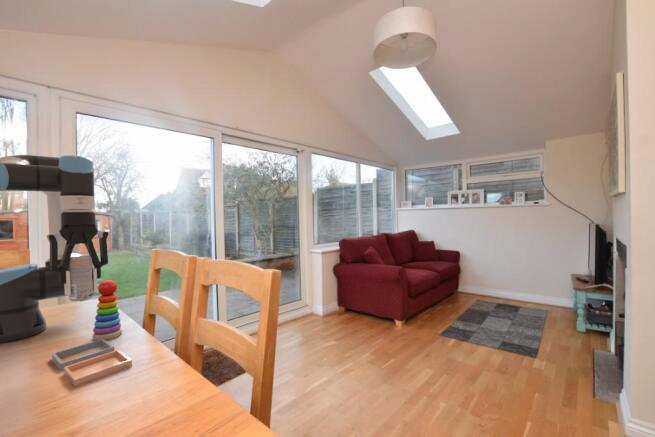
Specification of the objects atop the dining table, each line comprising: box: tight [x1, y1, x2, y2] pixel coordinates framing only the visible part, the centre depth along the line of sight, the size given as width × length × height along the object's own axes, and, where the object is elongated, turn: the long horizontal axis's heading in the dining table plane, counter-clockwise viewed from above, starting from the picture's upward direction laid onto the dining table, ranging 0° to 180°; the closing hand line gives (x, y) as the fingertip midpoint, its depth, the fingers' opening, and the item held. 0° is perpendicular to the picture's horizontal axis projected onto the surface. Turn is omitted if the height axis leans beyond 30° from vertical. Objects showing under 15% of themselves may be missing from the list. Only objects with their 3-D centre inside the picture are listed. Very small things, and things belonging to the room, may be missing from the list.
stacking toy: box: [92, 279, 123, 341], centre depth 100 cm, size 8×8×19 cm
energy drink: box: [68, 255, 94, 302], centre depth 86 cm, size 5×5×12 cm
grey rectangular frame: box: [51, 339, 115, 371], centre depth 86 cm, size 10×12×2 cm
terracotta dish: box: [63, 349, 133, 388], centre depth 78 cm, size 10×12×2 cm
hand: (81, 292), depth 86 cm, fingers closed on energy drink, 5 cm apart
